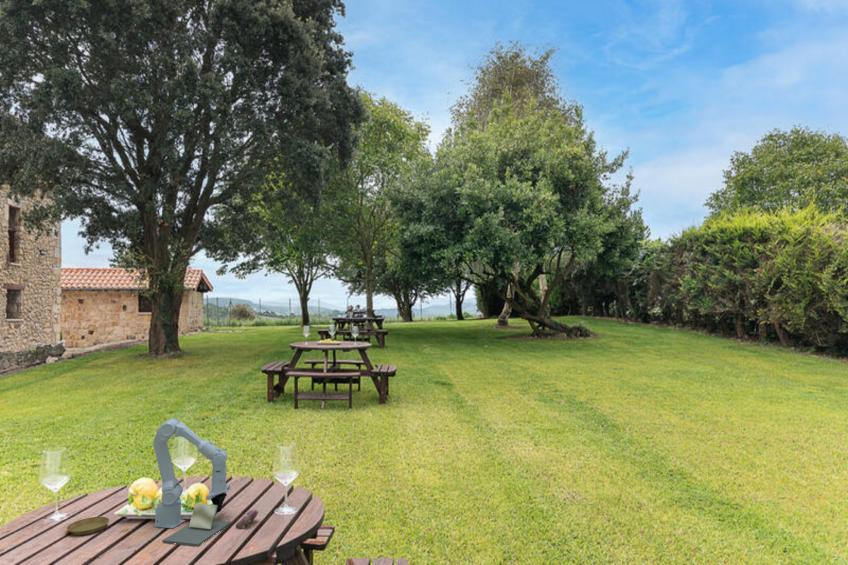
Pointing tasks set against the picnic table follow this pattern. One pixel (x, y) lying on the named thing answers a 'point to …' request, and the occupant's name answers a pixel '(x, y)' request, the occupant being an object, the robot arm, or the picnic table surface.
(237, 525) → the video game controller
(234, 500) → the picnic table surface
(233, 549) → the picnic table surface
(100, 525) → the plant saucer
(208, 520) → the tile
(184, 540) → the board
